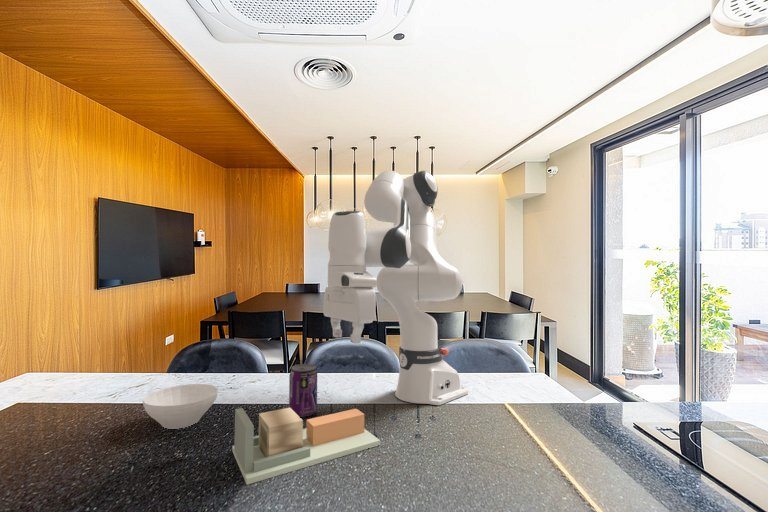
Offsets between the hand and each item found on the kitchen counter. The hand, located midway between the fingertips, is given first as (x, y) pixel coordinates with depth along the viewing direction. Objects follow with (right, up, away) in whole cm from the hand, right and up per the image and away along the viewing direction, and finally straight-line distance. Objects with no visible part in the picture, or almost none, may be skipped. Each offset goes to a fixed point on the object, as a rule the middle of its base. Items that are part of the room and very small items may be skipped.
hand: (346, 339), depth 82 cm
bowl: (-40, -22, +5) cm, 46 cm away
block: (-12, -20, -10) cm, 25 cm away
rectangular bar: (-2, -20, -4) cm, 20 cm away
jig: (-7, -21, -7) cm, 23 cm away
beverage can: (-12, -22, +11) cm, 27 cm away
